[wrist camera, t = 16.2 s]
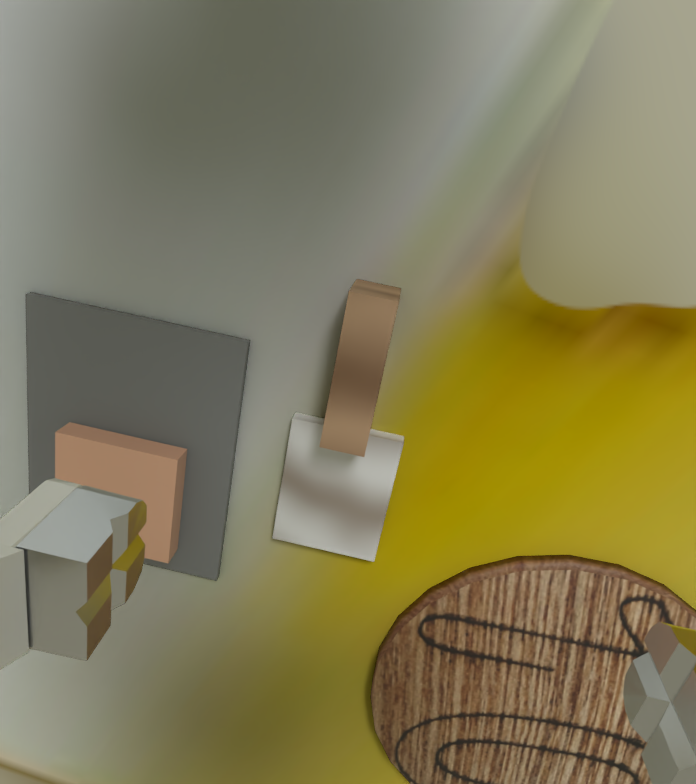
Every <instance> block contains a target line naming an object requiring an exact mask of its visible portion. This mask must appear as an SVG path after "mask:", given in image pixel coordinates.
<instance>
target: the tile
mask: <svg viewBox="0 0 696 784" xmlns="http://www.w3.org/2000/svg"><path fill="white" fill-rule="evenodd" d="M186 458H187V449H185V448H181V447H177V446H172V445H168V444H163V443H159V442H155V441H150V440H146V439H142V438H137V437H133V436H128V435H124V434H120V433H115V432H111V431H106V430H102V429H98V428H93V427H89V426H85V425H80V424H76V423H71V422H69V423H68V424H66V425H65V426H63V427H62V428H61V429H59V430H58V431H56V432H55V478H56V479H60V480H64V481H68V482H72V483H76V484H80V485H82V486H84V485H86V486H89V487H93V488H97V489H101V490H105V491H109V492H113V493H117V494H120V495H124V496H128V497H132V498H136V499H140V500H143V501H144V502H145V504H146V505H147V521H146V524H145V525H144V526H143V528H142V529H141V531H140V532H139V533H138V534H139V536H140V537H141V539H142V541H143V542H144V544H145V556H144V558H147V559H152V560H156V561H160V562H164V563H169V562H170V560H171V559H172V557H173V555H174V554H175V552H176V551H177V549H178V540H179V530H180V520H181V509H182V499H183V489H184V478H185V468H186Z"/></svg>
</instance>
